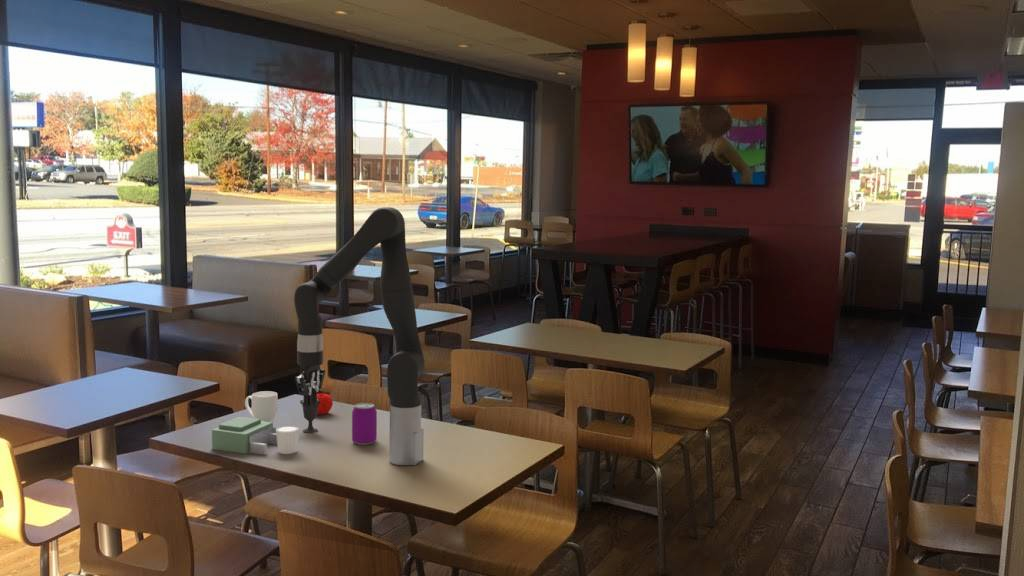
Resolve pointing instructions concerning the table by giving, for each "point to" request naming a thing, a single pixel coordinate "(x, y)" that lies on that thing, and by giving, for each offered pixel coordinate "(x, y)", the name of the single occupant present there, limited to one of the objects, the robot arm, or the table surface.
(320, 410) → the apple
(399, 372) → the robot arm
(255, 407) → the mug
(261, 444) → the chute bracket
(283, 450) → the white cup
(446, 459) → the table surface
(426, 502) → the table surface
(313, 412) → the sundae
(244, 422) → the green drawer box
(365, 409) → the beverage can
